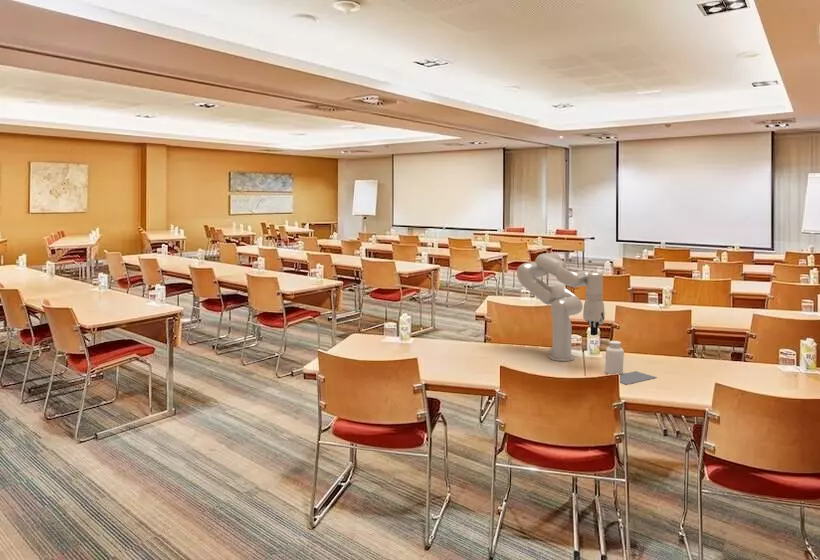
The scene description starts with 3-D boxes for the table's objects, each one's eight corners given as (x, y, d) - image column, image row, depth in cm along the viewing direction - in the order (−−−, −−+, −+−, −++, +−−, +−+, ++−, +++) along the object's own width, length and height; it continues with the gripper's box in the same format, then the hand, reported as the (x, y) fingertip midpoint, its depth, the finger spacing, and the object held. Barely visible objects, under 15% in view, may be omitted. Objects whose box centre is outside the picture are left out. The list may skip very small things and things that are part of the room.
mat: (605, 378, 270) (605, 377, 269) (635, 371, 279) (635, 371, 279) (626, 384, 259) (626, 384, 259) (657, 377, 269) (657, 377, 269)
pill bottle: (621, 376, 272) (621, 344, 270) (603, 373, 277) (604, 342, 275) (624, 372, 279) (625, 341, 277) (607, 369, 283) (608, 339, 281)
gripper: (577, 296, 290) (577, 333, 292) (600, 300, 277) (600, 338, 279) (588, 295, 293) (588, 331, 295) (611, 298, 280) (611, 336, 282)
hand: (594, 334), depth 287 cm, fingers closed
